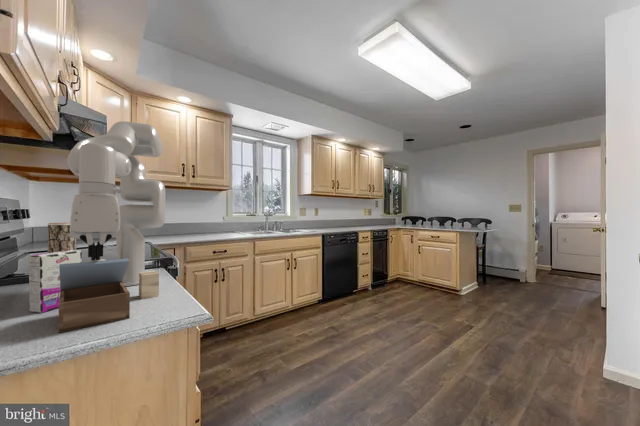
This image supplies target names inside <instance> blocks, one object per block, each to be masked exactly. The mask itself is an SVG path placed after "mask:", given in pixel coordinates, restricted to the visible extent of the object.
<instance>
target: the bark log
mask: <svg viewBox="0 0 640 426" xmlns="http://www.w3.org/2000/svg"><path fill="white" fill-rule="evenodd" d="M70 231H71V228H70V222H48V223H47V253H53V252H60V251H68V250H77V239H75V238H70V237H69V233H70Z"/></svg>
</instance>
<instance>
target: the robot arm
mask: <svg viewBox="0 0 640 426" xmlns="http://www.w3.org/2000/svg"><path fill="white" fill-rule="evenodd" d="M163 148H164V147H163V141H162V139H161V137H160V134H159V132H158V130H157V128H155V126H153V125H152V124H148V123H140V122H132V121H117V122H115V123H113V124H112V126H111V127H110V128H109V130H108V131H107V133H106V134H103V135H97V136H93V137H88V138H85V139H83V140H80V141H78V142H77V143H76V144H75V145H74V146H73V148H71V150H69V151H70V152H69V153H68V156H67V166H68V168H69V170H70V171H71V172H72V173H73V174H75V175H78V194H75V195H74V197H73V199H72V200H73V201H72V203H71V213H70V222H69V223H70V228H71V231H70V233H69V237H70V238H75V239H76V240H81V241H83V242H84V243H85V244H87V258H90V260H100V259H101V257H104V245H105V244H106V243H107V242H108V241H109V240H111V239H113V238H116V239H115V242H116V245H115V247H116V249H115V251H116V252H115V254H116V255H115V256H116V257H115V260H116V259H127V258H128V259H129V261H128V265H127V268H126V271H125V274H124V277H123V281H122V282H123V284H124V285H125V287H129V286H130V287H131V286H137V285H138V286H139V273H140V272H146V271H145V266H146V265H145V264H146V263H145V259H146V256H145V253H146V250H145V249H146V239H145V236H144V235H143V234H142V233H141V232H140V230H139V229H156V228H157V229H159V228H161V227H163V226H164V225H165V221H166V186H165V184H164V182H162V181H161V180H158V179H146V174H147V173H146V172H147V171H146V170H147V169H146V167H145V165H144V164H143V162H141V161H140V159H139V158H138V157H144V158H145V157H148V158H159V157H161V155H162V154H163ZM116 178H120V180H119V181H120V184H119V187H117V186H116ZM116 194H119V195H120V198H121V200H122V201H126V202H133V203H151V204H132V203H131V204H122V205H120V202H119V198H118V196H116ZM93 234H99V236H98V237H99V238H98V241H97V242H96V244H95V242H94V238H93Z"/></svg>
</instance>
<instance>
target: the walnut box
mask: <svg viewBox="0 0 640 426" xmlns="http://www.w3.org/2000/svg"><path fill="white" fill-rule="evenodd" d="M130 298H131V293H130V291H129V289H128V288H127V286H125V285H124V284H123V282H116V283H109V284H102V285H94V286H87V287H79V288H72V289H64V290H60V298H59V308H58V334H62V333H67V332H71V331H75V330H80V329H85V328H90V327H93V326H94V327H95V326H100V325H104V324H110V323H114V322H117V321H118V322H119V321H123V320H128V319H130V317H131V316H130V315H131V314H130V311H131V310H130V309H131V307H130V306H131V305H130V304H131V303H130V301H131V299H130Z"/></svg>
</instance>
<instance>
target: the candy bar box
mask: <svg viewBox="0 0 640 426" xmlns="http://www.w3.org/2000/svg"><path fill="white" fill-rule="evenodd" d="M82 255H83V253H82V250H77V249H76V250H68V251H60V252H53V253H48V252H47V253H39V254H32V255H28V279H29V283H28V289H29V290H28V291H29V294H28V295H29V299H28V300H29V312H31V313H37V314H38V313H39V314H43V313H46V312H51V311H53V310H56V309H59V298H60V290H61V289H60V269H59V265H60V264H70V263H82V262H83V261H82Z"/></svg>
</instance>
